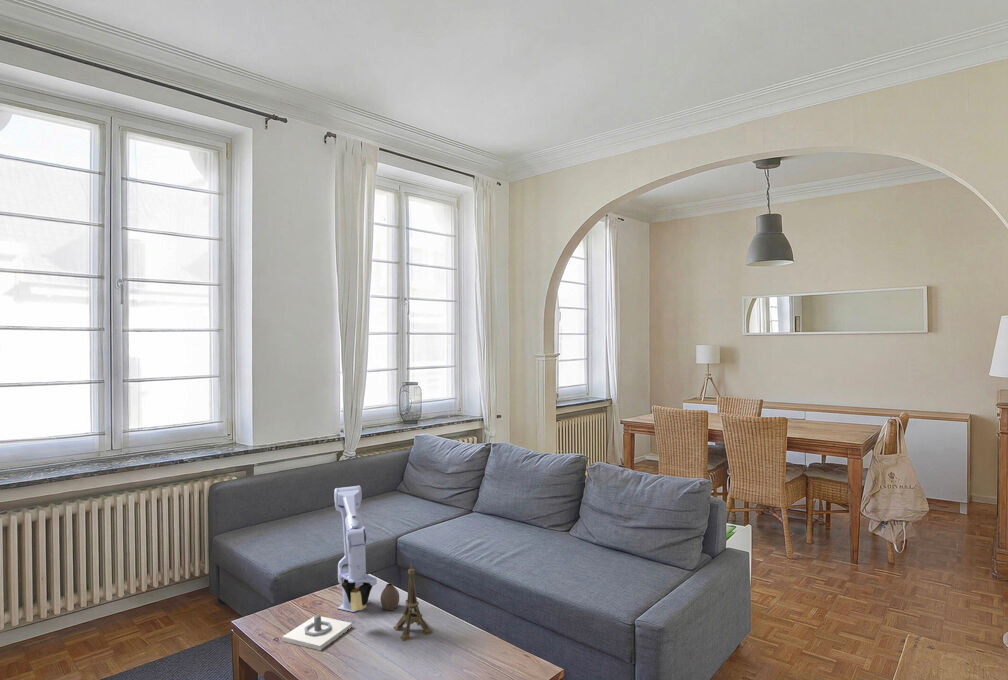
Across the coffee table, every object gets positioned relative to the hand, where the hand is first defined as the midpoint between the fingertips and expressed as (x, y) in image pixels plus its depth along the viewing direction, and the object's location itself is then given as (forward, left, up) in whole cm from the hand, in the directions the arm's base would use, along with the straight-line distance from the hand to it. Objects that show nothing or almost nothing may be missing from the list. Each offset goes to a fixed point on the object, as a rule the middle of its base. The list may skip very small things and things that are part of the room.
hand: (358, 602), depth 204 cm
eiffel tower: (-6, +18, -9) cm, 21 cm away
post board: (+8, -11, -9) cm, 16 cm away
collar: (0, 0, -1) cm, 1 cm away
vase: (-17, +1, -9) cm, 19 cm away
